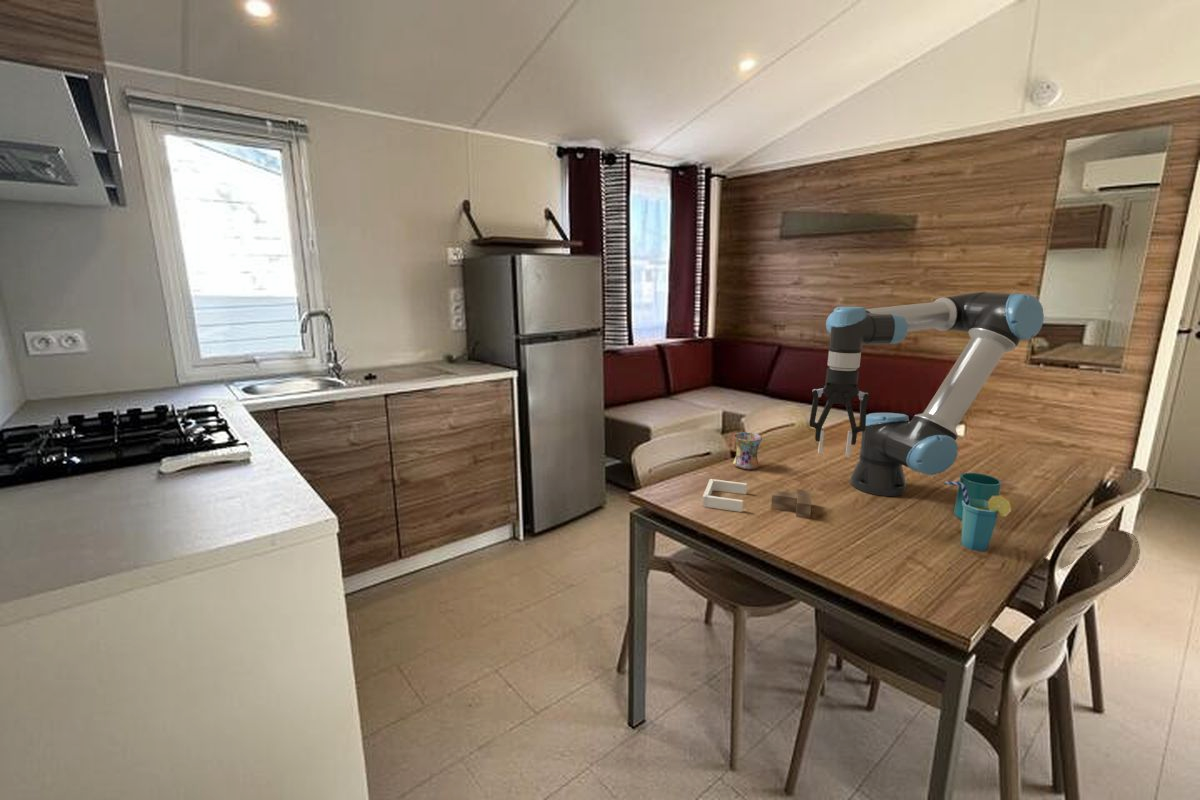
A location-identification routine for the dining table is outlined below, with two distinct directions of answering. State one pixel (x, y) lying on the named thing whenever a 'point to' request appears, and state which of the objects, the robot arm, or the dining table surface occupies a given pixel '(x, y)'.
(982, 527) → the cup
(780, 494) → the t block
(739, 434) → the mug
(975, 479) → the cup
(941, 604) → the dining table surface
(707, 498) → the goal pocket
